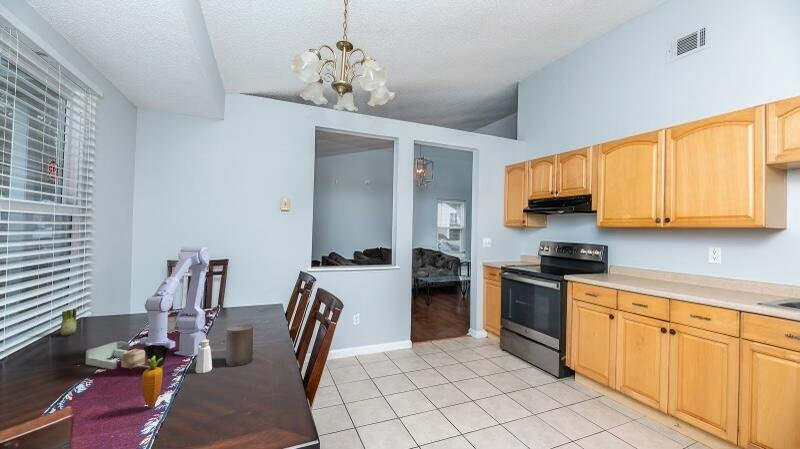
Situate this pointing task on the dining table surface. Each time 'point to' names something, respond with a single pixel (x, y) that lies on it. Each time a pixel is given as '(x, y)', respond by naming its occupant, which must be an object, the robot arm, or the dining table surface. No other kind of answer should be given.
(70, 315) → the fennel bulb
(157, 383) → the carrot
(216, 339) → the dining table surface
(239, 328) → the pillar candle
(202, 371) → the pepper shaker
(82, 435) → the dining table surface
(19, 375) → the dining table surface
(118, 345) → the stone block
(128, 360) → the tethered block
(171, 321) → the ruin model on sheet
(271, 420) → the dining table surface
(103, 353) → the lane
